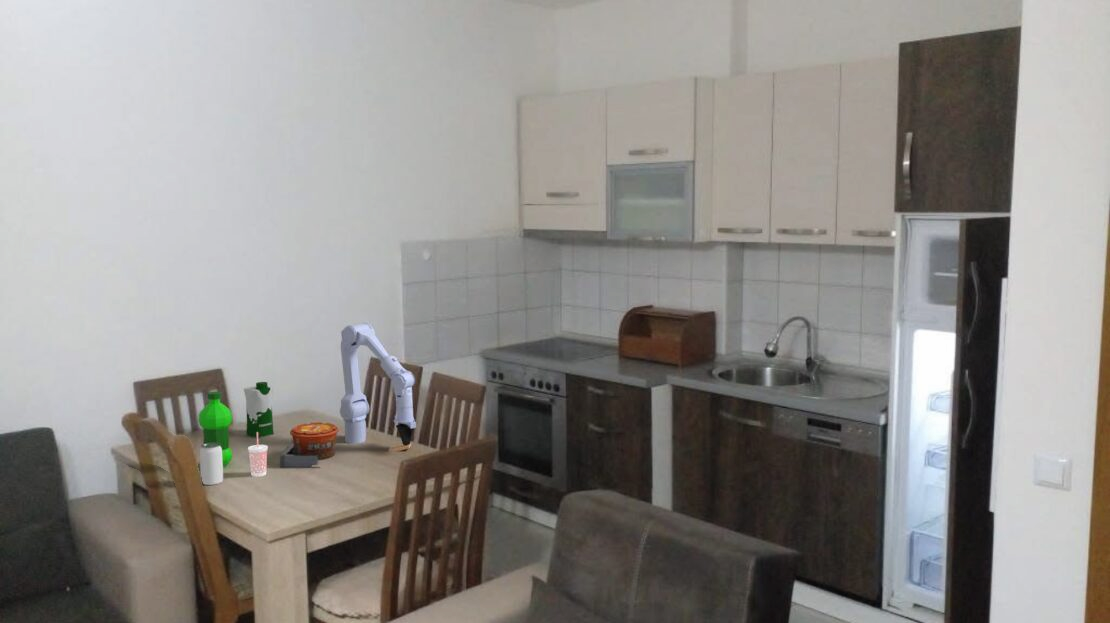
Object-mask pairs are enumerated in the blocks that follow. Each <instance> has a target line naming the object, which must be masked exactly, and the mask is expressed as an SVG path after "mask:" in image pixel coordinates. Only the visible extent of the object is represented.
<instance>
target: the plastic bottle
mask: <svg viewBox="0 0 1110 623" xmlns="http://www.w3.org/2000/svg"><path fill="white" fill-rule="evenodd" d="M221 399H222V391H219V390H217V391H215V390H213V391H209V392H207V400H209V403H208V404H206V405H205V407H203V408H202V409H201V410H200V411H199V414H198V423H199V426H200V427H201V428H202V429H203V430H202V431H203V444H206V443H220V446H221V448H222V460H223V469H224V468H226V466H228V464H230V462H231V461H232V458H233V451H232V449H231V447H230V440H229V426H230V425H231V424H232V421H233V418H232V416H233V415H232V411H231V410H230V408H228V407H227V406H226V405H225V404H224V403H222V402H221Z"/></svg>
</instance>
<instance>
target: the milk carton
mask: <svg viewBox="0 0 1110 623" xmlns="http://www.w3.org/2000/svg"><path fill="white" fill-rule="evenodd" d="M273 391H274V387H272V386H269V385H268V381H259V382H258V381H257V382H256V383H255V385H254V386H249V387H244V388H243V392H244V397H245V405H246V407H245V408H246V409H245V410H246V430H245V431H246V434H248V435H247V436H250V435H251V436H250V437H253V436H255V437H254V438H257V432H258V437H259V438H261V436H263V437H266V435H267V436H271V435H274V423H273V422H274V421H273ZM246 434H245V435H246ZM270 434H271V435H270Z"/></svg>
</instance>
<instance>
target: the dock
mask: <svg viewBox="0 0 1110 623" xmlns="http://www.w3.org/2000/svg"><path fill="white" fill-rule="evenodd" d="M279 460H280V462H279V464H280V466H279V467H280V469H282V468H287V469H289V468H292V469H294V468H295V469H296V468H297V469H299V468H301V469H302V468H303V469H304V468H306V469H307V468H309V469H310V468H311V469H312V468H314V469H315V468H316V469H317V468H318V466H317V465H319V460H318V455H295V451H294V444H293V442H292V443H290V445H289V446H288V447H287V448H286V449H285V450H283V452H282V453H281V454H280V455H279ZM293 467H294V468H293Z"/></svg>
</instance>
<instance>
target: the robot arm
mask: <svg viewBox="0 0 1110 623" xmlns="http://www.w3.org/2000/svg"><path fill="white" fill-rule="evenodd" d="M340 334H341V342H340V353H341V361H342V370H343V372H342V373H343V382H344V390H345V391H344V392H345V394H344V396H343V397H342V398H341V400H340V408H339V415H340V417H341V418H342V420H343V422H344V442H345V443H347V444H361V443H364V442H366V438H367V424H366V423H367V422H366V418H367V415H368V414H369V412H370V405H369V403H368V400H367V396H366V395H365V394H364V393H363V392H362V386H361V380H360V379H361V378H360V369H359V361H358V360H359V359H358V349H359V347H361V346H366V348H368V349H369V350H370V351H371V352H372V354H374V355H375V356H376V357H377V358H378V360H379V361H380V368H381V369H382V370H383V371H384V372H385V373H386V375H387V376H388V377H389V378H390V380H391V382H390V384H391V387H392V388H393V391H394V394H395V406H396V407H395V409H396V414H395V415H394V420H393V423H395V424H396V426H395V427H396V429H397V431H398V433H399V436H400V440H401V442H402V443H401V444H403V445H410V442H411V441H412V436H413V432H414V430H415V429H416V428H417V422H416V421H415V418H414V408H413V407H414V406H413V404H414V403H413V388H412V387H413V386H414V385H415V382H416V379H415V375H414V374H413V372H411V371H410V370H407V369H405V368H404V367H403V365H402V364H400V363H401V362H399V361H398V360H399V359H398V357H396V356H394V355H390V354H388V352H387V350H386V349H385V347H384V346H383V345H382V343H381V342H380V340H379V339H378V337H377V336H376V330H375V329H374V328H373V326H372V325H371V324H370V323H368V322H362V323H358V324H353V325H347V326H345V327H344V328H343V329H342V330H341V333H340Z"/></svg>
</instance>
